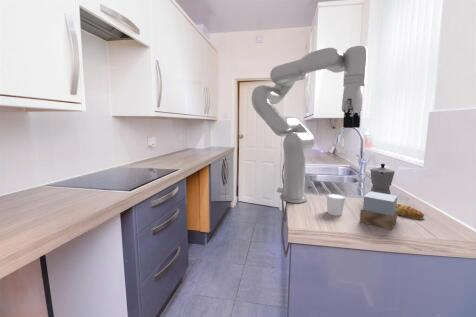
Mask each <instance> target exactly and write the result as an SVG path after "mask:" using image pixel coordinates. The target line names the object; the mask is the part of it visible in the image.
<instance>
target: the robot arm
mask: <svg viewBox="0 0 476 317" xmlns="http://www.w3.org/2000/svg"><path fill="white" fill-rule="evenodd" d="M367 64H368V48H367V46H365V45H355V46H351V47H348V48H347V49H346V50H345V52H343V51H341V50H339V49H336V48H334V47H326V48H320V49H317V50H315V51H311V52H308V53H307V54H306V55H304V56H303V57H301V58H300V59H297V60H293V61H290V62H286V63H281V64H280V65H276V66H274V67H273V68H272V69H271V70H270V73H269V76H270V80H271V81H272V83H274V84H275V85H274V86H271V85H265V84H264V85H258V86H256V87H254V89H253V90H252V93H251V105H252V107H253V109H254V111H255V112H256V113H257V114H258V116H259V117H261V119H262V120H263V121H264V122H265V124H266V125H267V127H268V128H270V129H271V131H272V132H273V133H274V134H275V135H277V136H278V137H284V139H283V142H282V146H283V153H284V154H283V156H284V159H283V160H284V163H283V164H284V168H283V169H284V170H283V171H284V172H283V188H282V187H277V189H276V192H277V193H280V195H279V198H280V200H282V201H283V202H287V203H293V204H302V203H305V202H307V201H308V197H307V196H306V195H305V181H306V180H305V178H306V157H305V156H306V155H305V152H309V151H311V150H312V149H313V148H314V147H315V143H316V141H315V138H314V135H313V134H312V133H311V132H310V131H309V129H307V128H306V126H305V125H304V124H303V123H302V122H301V121H300V120H298V119H297V118H296V117H292V116H285V115H284V114H283V113H282V112H281V111H280V110H279V109H278V108H277V107H276V106H275V105H277V104H279V103H280V102H281V101H282V100H283V99H284V98H285V97H286V96H287V94H288V93H289V92H290V91H291V89H292V88H293V86H295V83H296V82H298V81H302V80H305V79H306V78H307V77H308V74H309V73H313V72H316V71H317V72H318V71H320V70H327V71H330V72H331V73H342V72H343V94H342V100H341V101H342V102H341V103H342V104H341V112H343V122H342V124H343V126H342V127H343V128H344V129H347V128H348V129H351V128H352V129H355V128H356V129H357V128H360V127H361V111H362V108H363V87H365V86H366V83H367V81H366V80H367V79H366V78H367V66H368V65H367Z"/></svg>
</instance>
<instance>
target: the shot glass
mask: <svg viewBox="0 0 476 317" xmlns="http://www.w3.org/2000/svg"><path fill="white" fill-rule="evenodd" d="M345 198H346V196H344V195H342V194H337V193H328V194H326V211H327V212H326V213H327V214H329V215H331V216H342V215H343V211H344V207H345V200H346V199H345Z"/></svg>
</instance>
